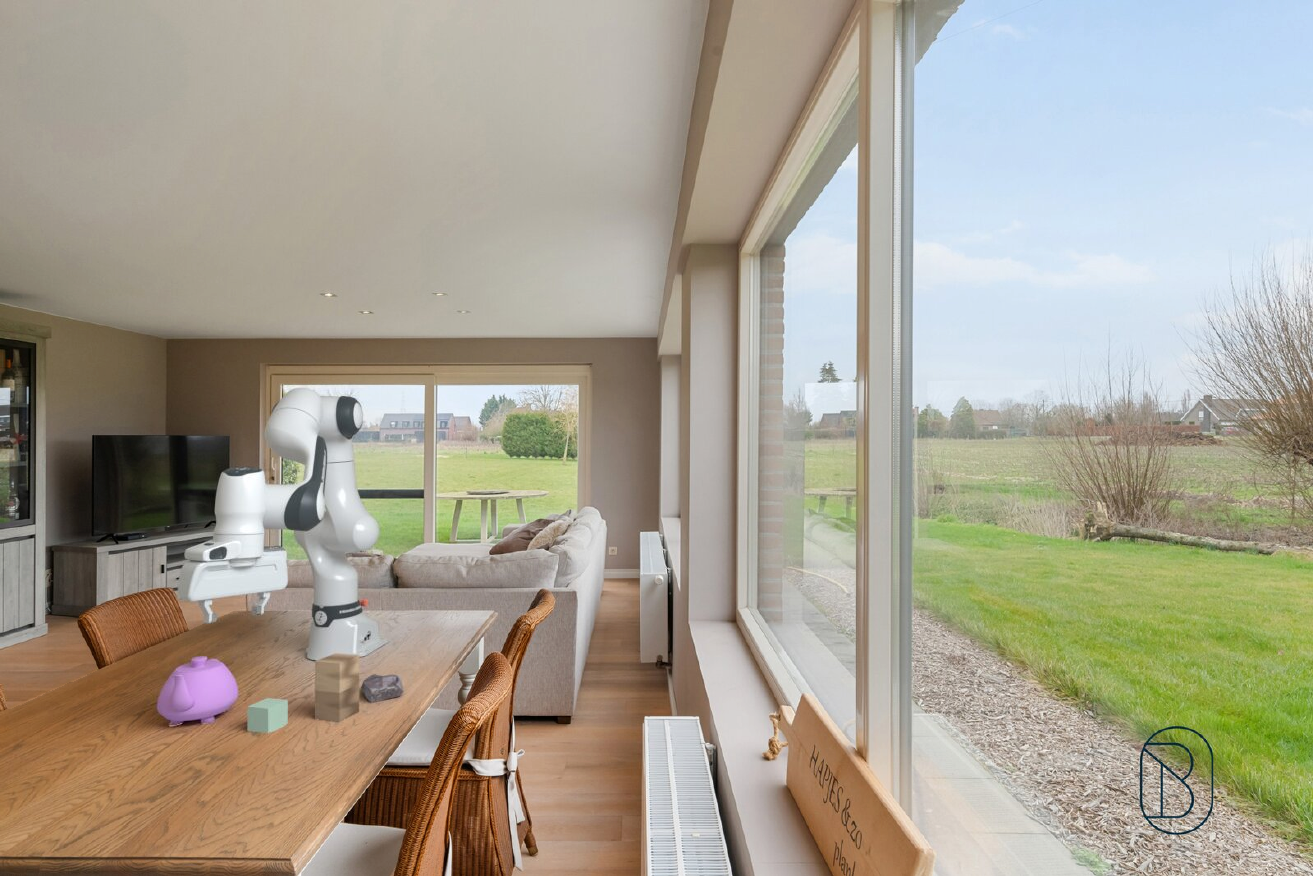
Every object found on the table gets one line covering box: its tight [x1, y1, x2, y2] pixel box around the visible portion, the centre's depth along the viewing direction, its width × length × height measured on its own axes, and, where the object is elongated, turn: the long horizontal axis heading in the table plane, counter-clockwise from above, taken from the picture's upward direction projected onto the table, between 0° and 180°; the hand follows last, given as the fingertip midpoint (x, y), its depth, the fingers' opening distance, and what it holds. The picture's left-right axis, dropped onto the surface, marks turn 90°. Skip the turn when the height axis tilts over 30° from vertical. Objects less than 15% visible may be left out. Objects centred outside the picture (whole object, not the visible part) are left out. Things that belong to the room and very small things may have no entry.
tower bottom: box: [314, 683, 360, 723], centre depth 146 cm, size 6×6×6 cm
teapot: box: [156, 655, 239, 725], centre depth 144 cm, size 20×14×12 cm
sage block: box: [246, 697, 289, 734], centre depth 140 cm, size 5×5×5 cm
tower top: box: [314, 653, 360, 693], centre depth 146 cm, size 6×6×6 cm
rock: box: [360, 674, 404, 704], centre depth 159 cm, size 8×11×5 cm
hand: (234, 618), depth 138 cm, fingers open, 8 cm apart
